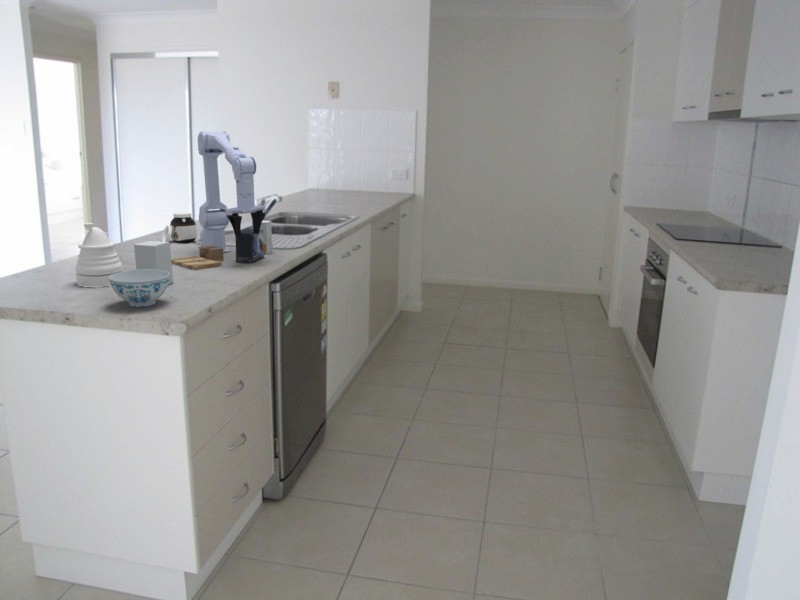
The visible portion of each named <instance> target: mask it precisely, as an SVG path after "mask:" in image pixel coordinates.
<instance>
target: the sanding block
mask: <svg viewBox="0 0 800 600" xmlns="http://www.w3.org/2000/svg"><path fill="white" fill-rule="evenodd" d="M198 251H199V257H202V258H206V259H210V260H214V261H218V262H223V261H224V260H225V258H224V257H225V256H224V252H223V248H219V247H215V246H203V247H201V246H199V248H198Z"/></svg>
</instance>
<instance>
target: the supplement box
mask: <svg viewBox="0 0 800 600" xmlns="http://www.w3.org/2000/svg"><path fill="white" fill-rule="evenodd" d="M133 249H134V256H135V257H134V258H135V268H136V269H135V270H141V269H155V270H164V271H167V272H169V273H170V279H169V283H168V284H169V285H172V284H174V277H173V276H174V275H173V274H174V273H173V264H172V263H171V259H172V254H171V242H170V241H169V242H163V241H159V240H158V241H157V240H147V241H143V242H139V243H134V244H133ZM171 283H172V284H171Z"/></svg>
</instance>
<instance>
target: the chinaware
mask: <svg viewBox="0 0 800 600" xmlns="http://www.w3.org/2000/svg"><path fill="white" fill-rule="evenodd" d="M169 279H170V273H169V272H167V271H164V270H155V269H141V270H136V269H133V270H132V269H130V270H123V272H118V273H115V274H112V275H110V276H109V280H110V283H111V286H110V287H112V290H113V292H115V294H117V296H118V297H120V298H121V299H122V300H124V301H126V302H127V303H128V306H130V307H134V306H136V307H137V308H139V307H140V308H141V307H142V306H144V307H149V306H152V305H155V304H156V303H157V300H158V299H159V298H160V297H161V296H162V295H163V294H164V293H165V292H166V290H167V288H168V286H169V285H168V283H169Z"/></svg>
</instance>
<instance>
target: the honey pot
mask: <svg viewBox="0 0 800 600" xmlns="http://www.w3.org/2000/svg"><path fill="white" fill-rule="evenodd" d="M83 226H84V229H86V230H87V232H86V234H85V237H84V239H83V241H82V242H81V243H79V244H78V245H77V247H78V248H79V249H80V250H79V254H78V255H77V257H78V258H77V260H76V265H75V279H76V285H77V284H78V285H81V286H92V287H93V286H107V285H111V283H110V280H109V276H110V275H112V274H115V273H118V272H123V271H124V270H123V269H124V268H123V262H121V261H120V260H121V259H120V257H119V255H118V254H119V253H118V252H117V251H116V248H115V246H116V243H115V242H114V241H111V240H110V238H109V236H108V234H106V232H105V231H104V230H103V229H101V228H100V227H98V226H94V223H93V222H86V223H83ZM78 285H77V286H78Z"/></svg>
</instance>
